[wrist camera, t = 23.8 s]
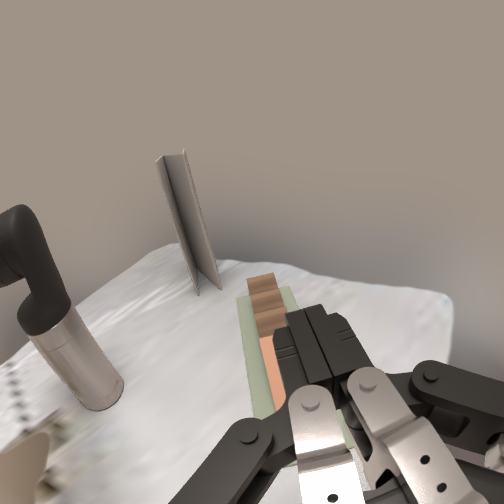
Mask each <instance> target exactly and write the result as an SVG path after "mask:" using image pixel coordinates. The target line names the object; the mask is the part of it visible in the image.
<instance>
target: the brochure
mask: <svg viewBox="0 0 504 504" xmlns="http://www.w3.org/2000/svg"><path fill="white" fill-rule="evenodd" d="M155 165H156V168H157V172H158V175H159V179H160V182H161V186H162V189H163V193H164V196H165V199H166V203H167V206H168V209H169V212H170V215H171V219H172V222H173V225H174V228H175V231H176V234H177V237H178V240H179V243H180V246H181V249H182V252H183V255H184V258H185V261H186V264H187V267H188V270H189V273H190V275H191V278H192V281H193V284H194V287H195V289H196V292H197V295H198V296H199V288H198V277H197V269H198V270H199V271H200V272H202V273H203V274H204V275H205V276H206V277H207V278H208V279H209V280H210V281H211V282H212V283H213V284H215V285H216V286H217V287H218V288H219V289H220V290H222V287H221V283H220V279H219V274H218V270H217V265H216V261H215V258H214V254H213V251H212V247H211V244H210V241H209V237H208V233H207V230H206V226H205V223H204V219H203V216H202V212H201V208H200V205H199V201H198V197H197V194H196V190H195V186H194V183H193V179H192V175H191V171H190V167H189V163H188V160H187V156H186V152H185V149H184V150H183V152H182V154H172V155H171V154H170V155H162V156H161V157H160V158H159V159H158V160H157V161H156V162H155Z"/></svg>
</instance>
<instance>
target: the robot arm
mask: <svg viewBox="0 0 504 504" xmlns="http://www.w3.org/2000/svg"><path fill="white" fill-rule="evenodd" d="M23 278H26V280H27V283H28V285H29V288H30V290H31V293H30V294H29V296H27V298H26V299H25V300H24V301H23V303H22V304H21V306H20V307H19V310H18V312H17V319H18V321H19V323H20V325H21V327H22V328H23V330H24V331H25V333H26V334H27V336H28V337H29V338H30V340H31V341H32V343H33V344H34V346H35V347H36V348H37V350H38V351H39V352H40V354H41V355H42V356H43V358H44V359H45V360H46V361H47V363H48V364H49V365H50V367H51V368H52V369H53V370H54V372H55V373H56V374H57V375H58V376H59V378H60V379H61V380H62V381H63V382H64V383H65V385H66V386H67V387H68V388H69V389H70V390H71V391H72V393H73V394H74V395H75V396H76V397H77V398H78V399H79V400H80V401H81V402H82V403H83V404H84V405H85V406H86V407H87V408H88V409H90V410H94V411H98V410H103V409H106V408H108V407H110V406H111V405H113V404H114V403H115V402H116V401H117V400H118V398H119V397H120V395H121V393H122V390H123V380H122V378H121V376H120V375H119V374H118V372H117V371H116V370H115V368H114V367H113V366H112V364H111V363H110V361H109V360H108V358H107V357H106V356H105V354H104V353H103V351H102V350H101V348H100V347H99V345H98V344H97V342H96V341H95V339H94V338H93V336H92V335H91V333H90V332H89V330H88V328H87V327H86V325H85V324H84V322H83V320H82V319H81V317H80V315H79V314H78V312H77V310H76V309H75V307H74V305H73V303H72V302H71V300H70V298H69V296H68V294H67V292H66V289H65V287H64V284H63V281H62V278H61V276H60V274H59V271H58V269H57V267H56V265H55V263H54V260H53V258H52V255H51V253H50V250H49V248H48V245H47V243H46V239H45V237H44V234H43V231H42V229H41V226H40V224H39V222H38V220H37V218H36V216H35V214H34V213H33V212H32V210H31V209H30V208H29V207H27V206H26V205H22V204H21V205H16V206H14V207H12V208H10V209H9V210H7V211H5V212H3V213H2V214H0V288H2V287H5V286H8V285H10V284H12V283H14V282H16V281H18V280H21V279H23ZM284 316H285V322H286V327H282V328H278V329H275V331H274V334H273V338H272V341H273V346H274V350H275V355H276V359H277V364H278V368H279V371H280V375H281V379H282V383H283V386H284V390H285V394H286V399H285V402H284V404H283V405H282V407H281V408H280V409H279V410H278V411H276V412H275V413H273V414H272V415H270V416H268V417H266V418H264V419H262V420H261V419H258V418H244V419H241V420H239V421H237V422H235V423H234V424H233V425H232V426H231V427H230V428H229V429H228V431H227V432H226V433H225V435H224V436H223V437H222V439H221V440H220V441H219V443H218V444H217V445H216V446H215V448H214V449H213V450H212V452H211V453H210V454H209V455H208V457H207V458H206V459H205V461H204V462H203V463H202V464H201V466H200V467H199V468H198V469H197V470H196V472H195V473H194V474H193V475H192V477H191V478H190V479H189V480H188V481H187V482H186V484H185V485H184V486H183V487H182V488H181V490H180V491H179V492H178V493H177V494H176V495H175V496H174V498H173V499H172V500H171V501H170V502H169V503H168V504H258V503H259V502H260V500H261V499H262V497H263V496H264V494H265V493H266V491H267V490H268V488H269V487H270V485H271V484H272V482H273V481H274V479H275V478H276V476H277V475H278V473H279V471H280V470H281V468H283V467H285V466H287V465H288V464H290V463H292V462H294V461H295V460H297V465H298V472H299V479H300V485H301V492H302V498H303V504H504V382H502V381H498V380H495V379H491V378H488V377H485V376H482V375H478V374H475V373H472V372H468V371H465V370H462V369H459V368H456V367H453V366H450V365H447V364H444V363H441V362H438V361H434V360H427V361H423V362H421V363H419V364H418V365H416V367H415V368H414V369H413V372H408V373H399V374H388V373H384V372H383V371H382V370H380V369H378V368H375V367H374V365H373V364H372V362H371V361H370V359H369V357H368V356H367V354H366V352H365V350H364V349H363V347H362V345H361V343H360V342H359V340H358V338H357V337H356V335H355V333H354V332H353V330H352V329H351V327H350V325H349V323H348V322H347V320H346V319H345V318H344V317H342V316H341V315H339V314H338V313H333V314H329V315H327V313H326V311H325V310H324V308H323V306H322V305H321V304H318V305H314V306H311V307H307V308H303V309H300V310H296V311H292V312H288V313H285V314H284ZM338 409H341V412H342V414H343V417H344V419H343V424H344V427H345V429H346V431H347V433H348V435H349V437H350V439H351V442H352V444H353V446H354V448H355V450H356V452H357V454H358V456H359V458H360V460H361V462H362V464H363V468H364V474H365V477H366V480H367V482H368V484H369V486H370V488H371V490H370V491H363V492H362V491H361V487H360V483H359V479H358V475H357V471H356V468H355V464H354V460H353V457H352V454H351V452H350V451H349V450H348V449H347V447H346V444H345V440H344V437H343V433H342V430H341V426H340V422H339V419H338V415H337V412H336V410H338ZM444 443H446V444H449V445H452V446H455V447H459V448H462V449H465V450H468V451H471V452H475V453H479V454H482V455H485V466H486V467H487V468H491V469H493V470H490V469H487V468H483V467H481V466H478V465H474V464H471V463H469V462H466V461H463V460H459V459H454V458H453V456H452V454H451V453H450V451H449V450H448V449H447V447H446V445H445V444H444ZM494 470H495V471H494Z"/></svg>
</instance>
